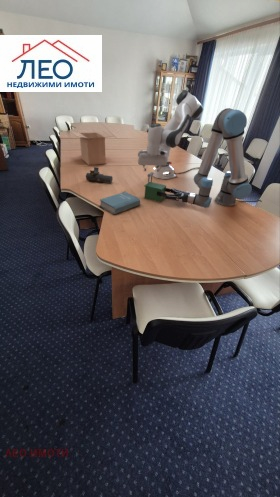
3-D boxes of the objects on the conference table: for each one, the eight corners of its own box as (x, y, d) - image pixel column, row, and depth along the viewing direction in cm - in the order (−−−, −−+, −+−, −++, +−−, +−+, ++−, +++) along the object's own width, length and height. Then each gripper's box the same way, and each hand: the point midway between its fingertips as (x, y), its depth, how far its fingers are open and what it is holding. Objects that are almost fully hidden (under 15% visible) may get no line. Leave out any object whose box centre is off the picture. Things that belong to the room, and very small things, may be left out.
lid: (144, 186, 162) (145, 174, 157) (149, 182, 169) (150, 170, 164) (161, 190, 158) (163, 178, 152) (166, 186, 165) (167, 174, 159)
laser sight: (109, 185, 184) (109, 173, 178) (84, 181, 187) (83, 169, 181) (113, 181, 192) (113, 169, 186) (88, 177, 195) (87, 166, 189)
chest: (144, 198, 167) (145, 186, 162) (149, 194, 174) (150, 182, 169) (160, 202, 163) (161, 190, 158) (164, 197, 170) (166, 186, 165)
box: (116, 165, 229) (116, 136, 213) (83, 168, 214) (80, 137, 198) (102, 154, 259) (101, 128, 243) (71, 156, 244) (68, 129, 228)
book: (125, 198, 165) (125, 191, 162) (140, 205, 156) (140, 199, 153) (100, 206, 151) (99, 199, 149) (115, 215, 143) (115, 207, 140)
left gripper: (138, 151, 147) (137, 172, 155) (168, 152, 149) (166, 173, 157) (137, 149, 152) (136, 169, 160) (166, 150, 154) (164, 170, 162)
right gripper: (183, 208, 151) (153, 200, 158) (191, 197, 167) (164, 191, 174) (185, 198, 146) (154, 190, 153) (193, 187, 163) (165, 181, 170)
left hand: (151, 171), depth 159 cm, fingers open, 8 cm apart
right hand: (159, 191), depth 164 cm, fingers closed on chest, 9 cm apart
